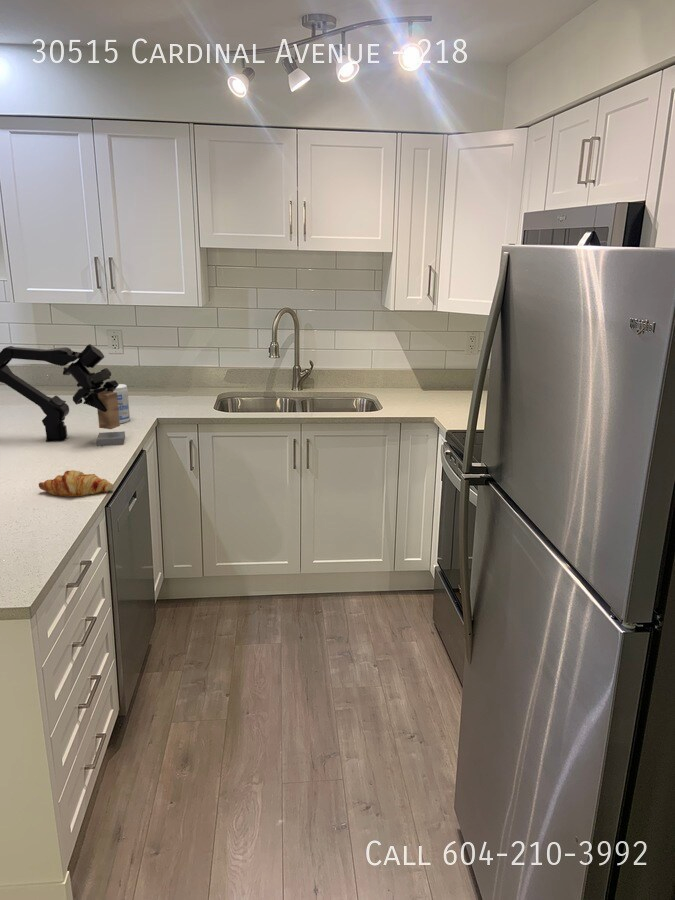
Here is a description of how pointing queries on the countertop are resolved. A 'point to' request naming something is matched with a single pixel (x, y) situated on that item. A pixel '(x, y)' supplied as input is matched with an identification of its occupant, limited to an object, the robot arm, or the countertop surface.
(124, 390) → the supplement tub
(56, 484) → the croissant
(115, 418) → the walnut pillar
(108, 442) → the light grey plinth
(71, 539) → the countertop surface
